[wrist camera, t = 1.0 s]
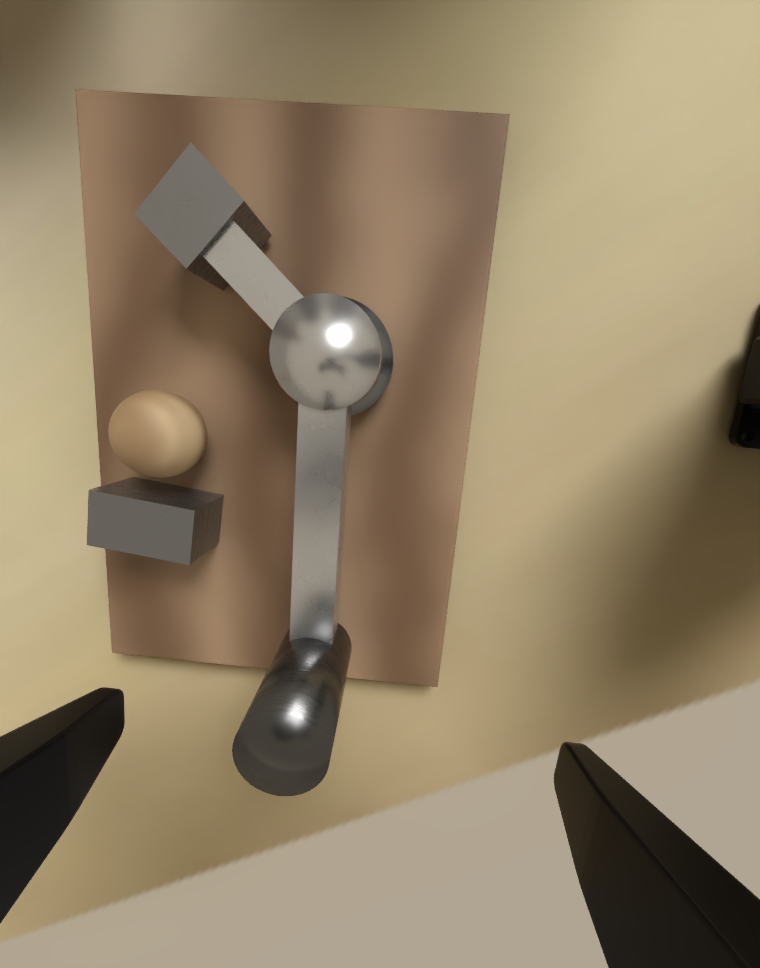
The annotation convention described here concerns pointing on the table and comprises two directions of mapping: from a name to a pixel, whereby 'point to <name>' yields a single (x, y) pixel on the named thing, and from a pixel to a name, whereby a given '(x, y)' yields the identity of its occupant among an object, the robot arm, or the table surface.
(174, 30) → the table surface
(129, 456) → the tan ball
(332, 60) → the table surface
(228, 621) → the board
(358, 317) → the lever
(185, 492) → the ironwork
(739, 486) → the table surface
